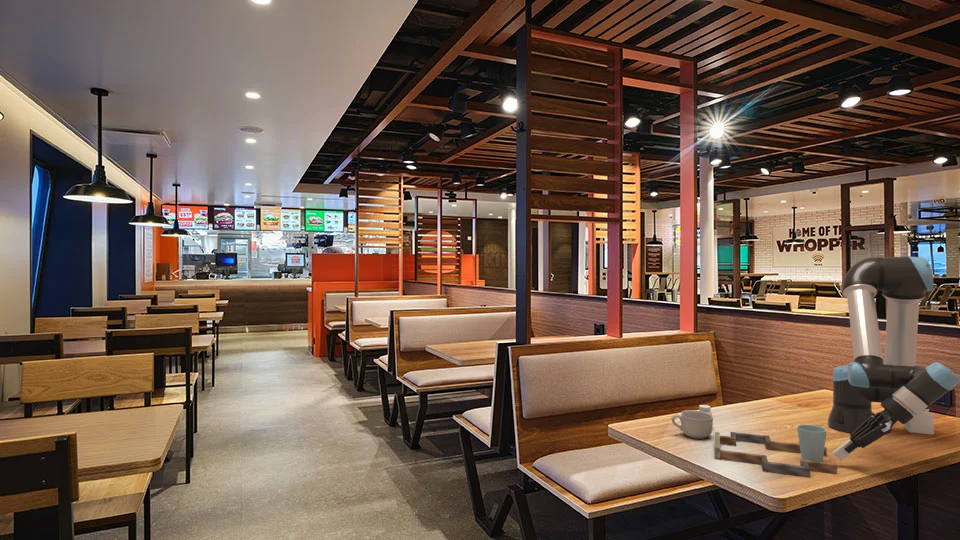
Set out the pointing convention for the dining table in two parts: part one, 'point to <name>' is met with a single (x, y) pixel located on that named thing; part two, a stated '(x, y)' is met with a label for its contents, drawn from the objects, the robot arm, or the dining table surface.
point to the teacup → (695, 423)
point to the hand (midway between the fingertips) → (836, 456)
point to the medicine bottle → (921, 423)
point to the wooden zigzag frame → (762, 459)
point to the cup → (812, 442)
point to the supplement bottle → (705, 408)
